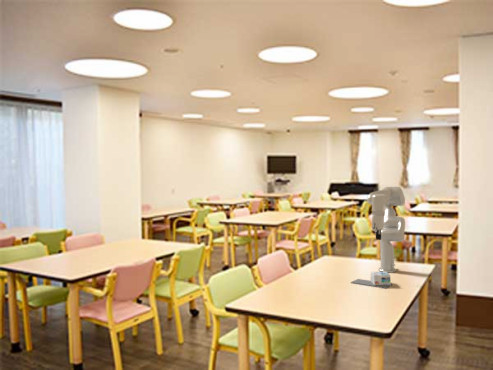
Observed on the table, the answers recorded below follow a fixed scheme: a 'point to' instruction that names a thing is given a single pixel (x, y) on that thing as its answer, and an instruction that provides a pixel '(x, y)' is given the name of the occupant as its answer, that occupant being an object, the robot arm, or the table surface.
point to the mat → (369, 283)
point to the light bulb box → (380, 278)
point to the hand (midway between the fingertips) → (378, 239)
